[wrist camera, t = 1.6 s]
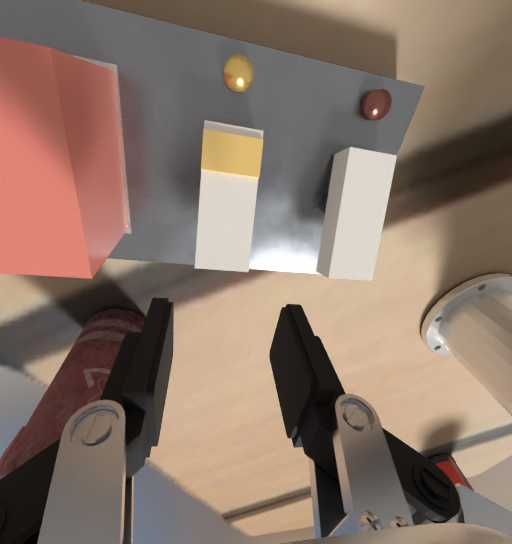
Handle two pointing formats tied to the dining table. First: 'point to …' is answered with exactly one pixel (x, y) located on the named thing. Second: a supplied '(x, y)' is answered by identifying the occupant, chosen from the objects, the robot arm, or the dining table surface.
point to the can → (73, 384)
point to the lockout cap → (57, 163)
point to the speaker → (450, 469)
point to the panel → (223, 109)
